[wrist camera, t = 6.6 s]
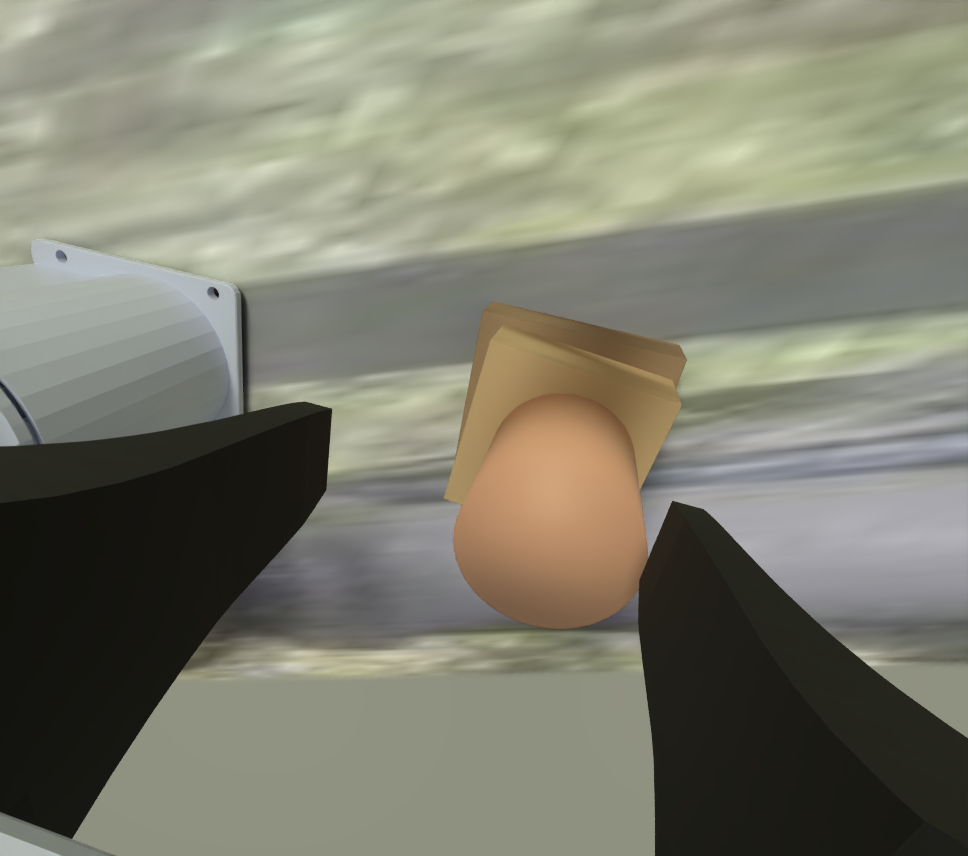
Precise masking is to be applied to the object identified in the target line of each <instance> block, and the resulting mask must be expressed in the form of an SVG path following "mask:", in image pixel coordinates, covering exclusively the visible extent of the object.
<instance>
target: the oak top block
mask: <svg viewBox="0 0 968 856" xmlns="http://www.w3.org/2000/svg"><path fill="white" fill-rule="evenodd" d="M557 393H558V394H572V395H578V396H582V397H585V398H588V399H591V400H593V401H596V402H597V403H599V404H601V405H603V406H604V407H606V408H607V409H608V410H610V411H611V412H612V413H613V414H614V415H615V416H616V417H617V418H618V419H619V420H620V421H621V422H622V424H623V425H624V426H625V428H626V430H627V431H628V433H629V435H630V438H631V440H632V443H633V447H634V451H635V459H636V466H637V473H638V481H639V488H640V489H641V487H642V485H643V483H644V481H645V479H646V477H647V475H648V473H649V470H650V468H651V466H652V464H653V462H654V460H655V458H656V456H657V454H658V452H659V450H660V448H661V446H662V444H663V442H664V440H665V438H666V436H667V434H668V432H669V430H670V428H671V426H672V424H673V422H674V420H675V418H676V416H677V414H678V412H679V410H680V408H681V406H682V404H681V402H680V399H679V396H678V394H677V391H676V388H675V386H674V383H673V380H671V379H668V378H665V377H662V376H659V375H656V374H653V373H650V372H647V371H644V370H641V369H638V368H635V367H632V366H629V365H626V364H623V363H620V362H617V361H614V360H611V359H608V358H605V357H602V356H599V355H596V354H593V353H590V352H587V351H584V350H581V349H578V348H575V347H572V346H569V345H567V344H564V343H561V342H558V341H555V340H552V339H549V338H546V337H543V336H540V335H537V334H534V333H531V332H528V331H525V330H522V329H519V328H516V327H513V326H510V325H507V324H503V325H502V326H501V328H500V329H499V330H498V331H497V333H496V334H495V335H494V336H493V338H492V339H491V340H490V343H489V347H488V350H487V354H486V357H485V360H484V364H483V367H482V370H481V374H480V377H479V381H478V384H477V387H476V391H475V394H474V398H473V401H472V404H471V408H470V411H469V415H468V418H467V421H466V425H465V428H464V432H463V435H462V438H461V442H460V445H459V449H458V452H457V455H456V459H455V462H454V466H453V469H452V472H451V476H450V479H449V483H448V486H447V489H446V493H445V496H444V499H447V500H450V501H452V502H455V503H458V504H461V505H463V503H464V501H465V498H466V496H467V494H468V492H469V490H470V488H471V486H472V483H473V481H474V479H475V477H476V475H477V473H478V471H479V468H480V466H481V464H482V462H483V460H484V458H485V456H486V453H487V451H488V449H489V447H490V445H491V443H492V440H493V438H494V436H495V434H496V432H497V430H498V428H499V426H500V425H501V423H502V421H503V420H504V419H505V418H506V417H507V415H508V414H509V413H510V412H512V411H513V410H514V409H515V408H516V407H518V406H519V405H521V404H522V403H524V402H526V401H528V400H530V399H533V398H536V397H539V396H543V395H547V394H557Z"/></svg>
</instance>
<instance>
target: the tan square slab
mask: <svg viewBox="0 0 968 856" xmlns="http://www.w3.org/2000/svg"><path fill="white" fill-rule="evenodd" d="M503 324H507V325H510V326H513V327H516V328H519V329H522V330H525V331H528V332H531V333H534V334H537V335H540V336H543V337H546V338H549V339H552V340H555V341H558V342H561V343H564V344H567V345H569V346H572V347H575V348H578V349H581V350H584V351H587V352H590V353H593V354H596V355H599V356H602V357H605V358H608V359H611V360H614V361H617V362H620V363H623V364H626V365H629V366H632V367H635V368H638V369H641V370H644V371H647V372H650V373H653V374H656V375H659V376H662V377H665V378H668V379H671V380H673V383H674V386H675V388H677V385H678V382H679V380H680V377H681V374H682V371H683V369H684V366H685V363H686V361H687V359H686V357H685V355H684V353H683V351H682V349H681V347H680V345H677V344H673V343H668V342H664V341H660V340H655V339H651V338H647V337H643V336H638V335H634V334H630V333H626V332H621V331H617V330H613V329H608V328H604V327H600V326H596V325H591V324H587V323H583V322H578V321H574V320H570V319H566V318H561V317H557V316H553V315H548V314H544V313H540V312H536V311H531V310H527V309H523V308H519V307H514V306H510V305H506V304H501V303H497V302H492V303H491V304H490V305H489V306H488V307H487V308H485V309H484V310H483V312H482V317H481V322H480V328H479V333H478V339H477V344H476V349H475V355H474V360H473V365H472V371H471V376H470V382H469V387H468V392H467V398H466V403H465V409H464V414H463V419H462V425H461V430H460V436H459V441H458V446H457V452H458V449H459V445H460V442H461V438H462V435H463V432H464V428H465V425H466V421H467V418H468V415H469V411H470V408H471V404H472V401H473V398H474V394H475V391H476V387H477V384H478V381H479V377H480V374H481V370H482V367H483V364H484V360H485V357H486V354H487V350H488V347H489V343H490V340H491V339H492V338H493V336H494V335H495V334H496V333H497V331H498V330H499V329H500V328H501V326H502V325H503ZM457 452H456V455H457ZM455 459H456V457H455Z"/></svg>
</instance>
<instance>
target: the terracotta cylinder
mask: <svg viewBox="0 0 968 856" xmlns="http://www.w3.org/2000/svg"><path fill="white" fill-rule="evenodd" d="M453 544H454V552H455V556H456V561H457V563H458V566H459V568H460V571H461V573H462V574H463V576H464V578H465V580H466V581H467V583H468V584H469V585H470V587H471V588H472V589H473V590H474V592H475V593H476V594H477V595H478V596H479V597H480V598H481V599H482V600H483V601H485V602H486V603H487V604H488V605H490V606H491V607H492V608H494V609H495V610H497V611H498V612H500V613H502V614H504V615H505V616H507V617H510V618H512V619H514V620H516V621H519V622H522V623H525V624H528V625H532V626H537V627H542V628H551V629H568V628H578V627H582V626H587V625H591V624H594V623H597V622H600V621H602V620H604V619H606V618H608V617H610V616H612V615H613V614H615V613H616V612H618V611H619V610H620V609H622V608H623V607H624V606H625V605H626V604H627V603H628V602H629V601H630V600H631V599H632V598H633V597H634V595H635V594H636V592H637V591H638V589H639V579H640V577H641V575H642V572H643V570H644V567H645V565H646V563H647V560H648V549H647V540H646V532H645V525H644V517H643V510H642V503H641V495H640V488H639V481H638V473H637V466H636V459H635V451H634V447H633V443H632V440H631V438H630V435H629V433H628V431H627V430H626V428H625V426H624V425H623V424H622V422H621V421H620V420H619V419H618V418H617V417H616V416H615V415H614V414H613V413H612V412H611V411H610V410H608V409H607V408H606V407H604V406H603V405H601V404H599V403H597V402H596V401H593V400H591V399H588V398H585V397H582V396H578V395H572V394H558V393H557V394H547V395H543V396H539V397H536V398H533V399H530V400H528V401H526V402H524V403H522V404H521V405H519V406H518V407H516V408H515V409H514V410H513V411H512V412H510V413H509V414H508V415H507V417H506V418H505V419H504V420H503V421H502V423H501V425H500V426H499V428H498V430H497V432H496V434H495V436H494V438H493V440H492V443H491V445H490V447H489V449H488V451H487V453H486V456H485V458H484V460H483V462H482V464H481V466H480V468H479V471H478V473H477V475H476V477H475V479H474V481H473V483H472V486H471V488H470V490H469V492H468V494H467V496H466V498H465V501H464V503H463V505H462V507H461V509H460V512H459V514H458V516H457V519H456V523H455V527H454V536H453Z"/></svg>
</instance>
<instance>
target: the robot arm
mask: <svg viewBox="0 0 968 856" xmlns="http://www.w3.org/2000/svg"><path fill="white" fill-rule="evenodd" d="M31 252H32V257H33V262H34V264H25V265H17V266H8V267H0V856H115V855H113V854H110V853H107V852H105V851H102V850H99V849H96V848H94V847H91V846H89V845H86V844H83V843H81V842H78V841H75V840H73V839H72V838H73V836H74V835H75V833H76V831H77V830H78V828H79V827H80V825H81V823H82V822H83V820H84V819H85V817H86V815H87V814H88V812H89V810H90V809H91V807H92V805H93V804H94V802H95V800H96V799H97V797H98V796H99V794H100V792H101V791H102V789H103V788H104V786H105V784H106V783H107V781H108V779H109V778H110V776H111V775H112V773H113V772H114V770H115V768H116V767H117V765H118V764H119V762H120V761H121V759H122V758H123V756H124V754H125V753H126V752H127V750H128V749H129V747H130V746H131V744H132V742H133V741H134V740H135V738H136V736H137V735H138V733H139V732H140V730H141V729H142V727H143V726H144V724H145V723H146V721H147V719H148V718H149V717H150V715H151V714H152V712H153V711H154V709H155V708H156V706H157V705H158V703H159V702H160V700H161V699H162V698H163V696H164V694H165V693H166V692H167V690H168V689H169V687H170V686H171V685H172V683H173V682H174V680H175V679H176V678H177V676H178V675H179V673H180V672H181V670H182V669H183V668H184V666H185V665H186V663H187V662H188V661H189V659H190V658H191V656H192V655H193V654H194V652H195V651H196V650H197V648H198V647H199V646H200V644H201V643H202V641H203V640H204V639H205V637H206V636H207V635H208V633H209V632H210V631H211V629H212V628H213V627H214V625H215V624H216V622H217V621H218V620H219V619H220V618H221V616H222V615H223V614H224V613H225V612H226V610H227V609H228V608H229V607H230V606H231V604H232V603H233V602H234V601H235V600H236V599H237V598H238V596H239V595H240V594H241V593H242V592H243V591H244V590H245V589H246V588H247V587H248V585H249V584H250V583H251V582H252V581H253V580H254V579H255V578H256V577H257V576H258V574H259V573H260V572H261V571H262V570H263V569H264V568H265V567H266V566H267V565H268V564H269V562H270V561H271V560H272V559H273V558H274V557H275V556H276V555H277V554H278V553H279V551H280V550H281V549H282V548H283V547H284V546H285V545H286V544H287V543H288V541H289V540H290V539H291V538H292V537H293V536H294V535H295V534H296V532H297V531H298V530H299V529H300V528H301V527H302V525H303V524H304V523H305V521H306V520H307V518H308V517H309V515H310V514H311V513H312V511H313V510H314V508H315V507H316V505H317V503H318V502H319V500H320V499H321V497H322V496H323V494H324V493H325V491H326V486H327V472H328V458H329V444H330V431H331V417H332V409H331V408H327V407H323V406H320V405H316V404H312V403H308V402H297V403H290V404H285V405H280V406H275V407H270V408H266V409H262V410H257V411H253V412H249V413H243V366H242V319H241V295H240V291H239V290H238V288H237V287H236V286H235V285H234V284H232V283H230V282H225V281H221V280H217V279H213V278H209V277H204V276H200V275H196V274H192V273H188V272H183V271H179V270H175V269H171V268H167V267H162V266H158V265H154V264H150V263H146V262H142V261H137V260H133V259H129V258H125V257H121V256H116V255H112V254H108V253H104V252H100V251H95V250H91V249H87V248H83V247H79V246H74V245H70V244H66V243H62V242H58V241H53V240H49V239H35V240H34V241H32V244H31ZM64 253H65V255H66V257H67V259H66V258H65V255H64ZM214 288H216V289H217V290H218V292H219V298H218V297H217V296H216V295H215V294H214ZM638 626H639V635H640V644H641V652H642V661H643V669H644V677H645V685H646V693H647V701H648V709H649V717H650V724H651V732H652V743H653V756H654V789H655V790H654V791H655V856H968V738H967V737H965V736H964V735H962V734H961V733H959V732H958V731H956V730H955V729H953V728H952V727H950V726H949V725H948V724H946V723H945V722H943V721H942V720H941V719H939V718H938V717H936V716H935V715H934V714H932V713H931V712H930V711H928V710H927V709H925V708H924V707H922V706H921V705H920V704H918V703H917V702H915V701H914V700H913V699H912V698H910V697H909V696H907V695H906V694H904V693H903V692H902V691H901V690H899V689H898V688H896V687H895V686H894V685H893V684H891V683H890V682H889V681H887V680H886V679H884V678H883V677H882V676H881V675H880V674H878V673H877V672H876V671H874V670H873V669H872V668H871V667H869V666H868V665H867V664H866V663H865V662H863V661H862V660H861V659H860V658H859V657H857V656H856V655H855V654H854V653H852V652H851V651H850V650H849V649H848V648H846V647H845V646H844V645H843V644H842V643H840V642H839V641H838V640H837V639H835V638H834V637H833V636H832V635H831V634H830V633H829V632H827V631H826V630H825V629H824V628H823V627H822V626H821V625H820V624H818V623H817V622H816V621H815V620H814V619H813V618H812V617H811V616H810V615H809V614H808V613H807V612H806V611H804V610H803V609H802V608H801V607H800V606H799V605H798V604H797V603H796V602H795V601H794V600H793V599H792V598H791V597H790V596H789V595H788V594H787V593H786V592H784V591H783V590H782V589H781V588H780V587H779V586H778V585H777V584H776V583H775V582H774V581H773V580H772V579H771V578H770V577H769V575H768V574H767V573H766V572H765V571H764V570H763V569H762V568H761V567H760V566H759V565H758V564H757V563H756V562H755V561H754V560H753V559H752V558H751V557H750V556H749V555H748V554H747V553H746V551H745V550H744V549H743V548H742V547H741V546H740V545H739V544H738V543H737V542H736V541H735V540H734V539H733V538H732V537H731V536H730V534H729V533H728V532H727V531H726V530H725V529H724V528H723V527H722V526H721V525H720V524H719V523H718V522H717V521H716V520H715V519H714V518H713V517H712V516H711V515H710V514H709V513H707V512H706V511H705V510H704V509H700V508H697V507H693V506H689V505H686V504H682V503H678V502H675V501H672V503H671V506H670V508H669V510H668V513H667V515H666V517H665V520H664V522H663V525H662V527H661V529H660V532H659V534H658V537H657V539H656V541H655V544H654V546H653V548H652V551H651V553H650V556H649V558H648V560H647V563H646V565H645V567H644V570H643V572H642V575H641V577H640V579H639V604H638Z"/></svg>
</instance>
